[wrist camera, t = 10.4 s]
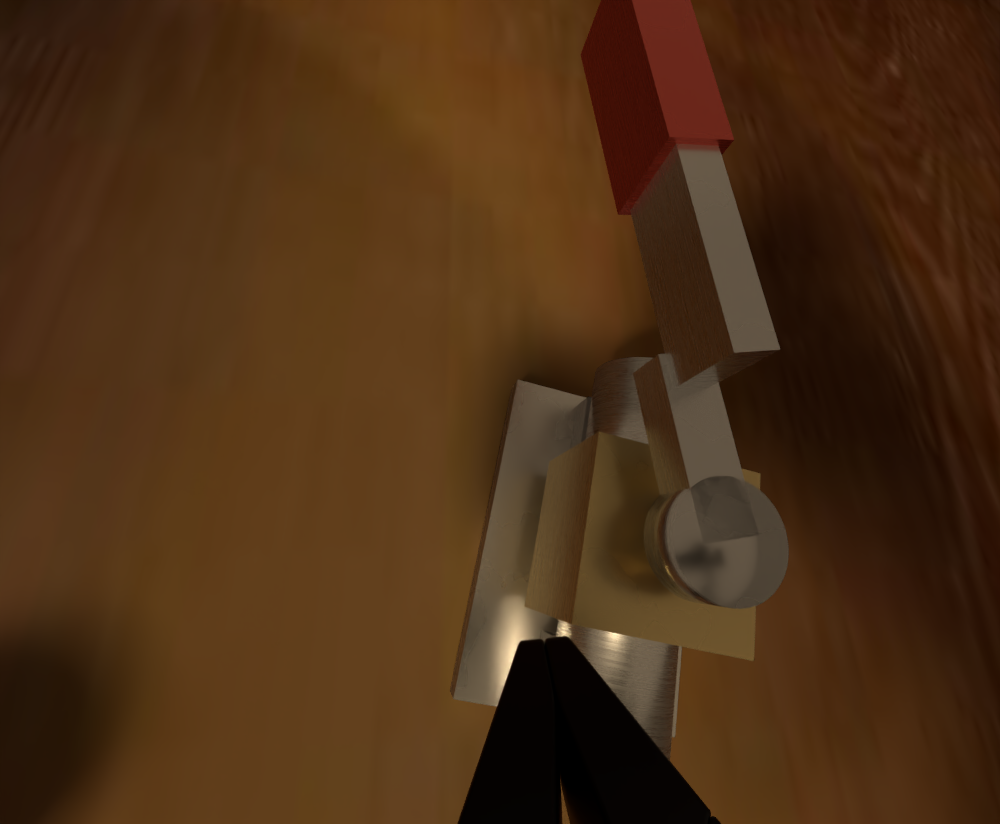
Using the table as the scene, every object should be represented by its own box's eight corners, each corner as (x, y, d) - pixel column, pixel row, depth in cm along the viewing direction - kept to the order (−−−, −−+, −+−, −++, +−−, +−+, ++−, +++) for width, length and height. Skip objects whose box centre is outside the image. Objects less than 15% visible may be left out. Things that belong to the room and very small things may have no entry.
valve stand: (659, 727, 21) (832, 838, 13) (449, 690, 20) (491, 787, 11) (684, 433, 25) (827, 373, 17) (512, 387, 24) (575, 299, 16)
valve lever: (658, 613, 13) (773, 637, 9) (548, 88, 17) (595, -51, 13) (761, 592, 14) (910, 607, 10) (632, 94, 18) (700, -36, 14)
